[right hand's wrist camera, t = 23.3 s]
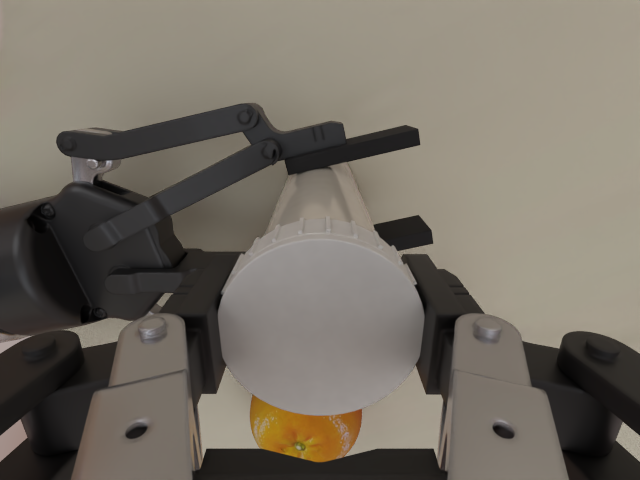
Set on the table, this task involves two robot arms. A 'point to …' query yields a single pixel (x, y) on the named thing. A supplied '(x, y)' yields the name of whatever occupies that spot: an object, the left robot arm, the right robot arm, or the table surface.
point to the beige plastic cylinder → (321, 198)
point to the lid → (320, 318)
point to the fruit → (303, 432)
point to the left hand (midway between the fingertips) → (418, 183)
